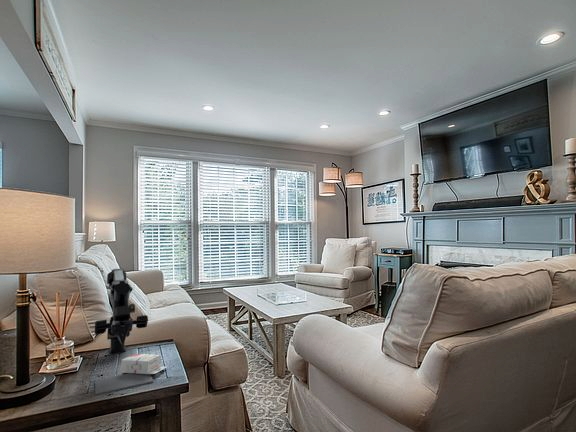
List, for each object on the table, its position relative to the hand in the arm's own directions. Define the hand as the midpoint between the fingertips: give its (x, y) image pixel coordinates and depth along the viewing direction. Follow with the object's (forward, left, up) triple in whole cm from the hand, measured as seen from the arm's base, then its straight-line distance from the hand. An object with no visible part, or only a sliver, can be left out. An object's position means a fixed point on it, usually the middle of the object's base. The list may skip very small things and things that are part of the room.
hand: (122, 344), depth 126 cm
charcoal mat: (+8, 0, -11) cm, 14 cm away
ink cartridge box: (-3, +2, -8) cm, 9 cm away
